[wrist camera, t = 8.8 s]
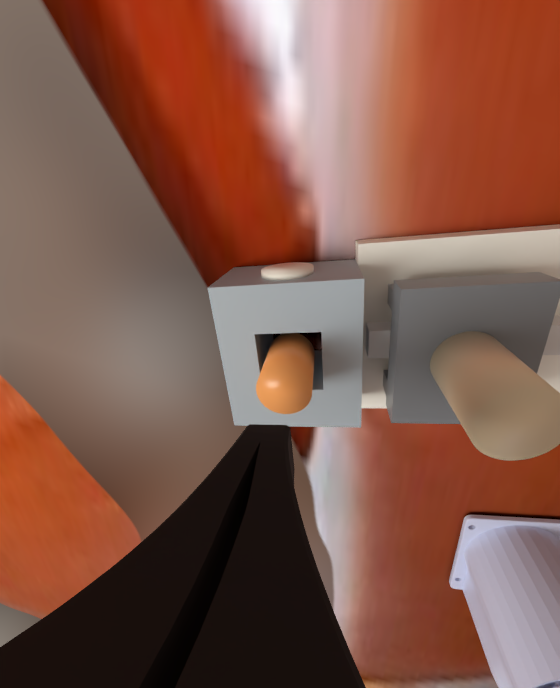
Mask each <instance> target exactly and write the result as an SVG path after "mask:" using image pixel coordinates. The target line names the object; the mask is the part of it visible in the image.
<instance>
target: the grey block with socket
mask: <svg viewBox="0 0 560 688" xmlns="http://www.w3.org/2000/svg"><path fill="white" fill-rule="evenodd" d="M208 292H209V297H210V302H211V307H212V313H213V317H214V323H215V328H216V333H217V338H218V343H219V348H220V354H221V359H222V364H223V369H224V374H225V379H226V384H227V389H228V394H229V399H230V405H231V410H232V415H233V420H234V425H246V426H248V425H249V424H259V425H287V426H305V427H361V404H362V361H363V318H364V277H363V274H362V272H361V270H360V268H359V266H358V264H357V262H356V259H350V260H336V261H321V262H307V263H305V262H291V263H281V264H275V265H263V266H249V267H234V268H233V269H231V270H230V271H229V272H227V273H226V274H225V275H224V276H222V277H221V278H220V279H218V280H217V281H216V282H214V283H213V284H212V285H211V286H209V287H208ZM309 332H321V339H322V350H315V360H314V374H313V388H312V397H311V400H310V402H309V404H308V405H307V406H306V407H305V408H304V409H303V410H301V411H299V412H297V413H293V414H280V413H276V412H273V411H271V410H269V409H268V408H266V407H265V406H264V405H263V404H262V403H261V402H260V400H259V398H258V396H257V393H256V384H257V381H258V378H259V375H260V373H261V370H262V367H263V364H264V362H265V359H266V356H267V354H268V351H269V348H270V346H271V343H272V342H273V340H274V339H273V334H278V333H309Z"/></svg>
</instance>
